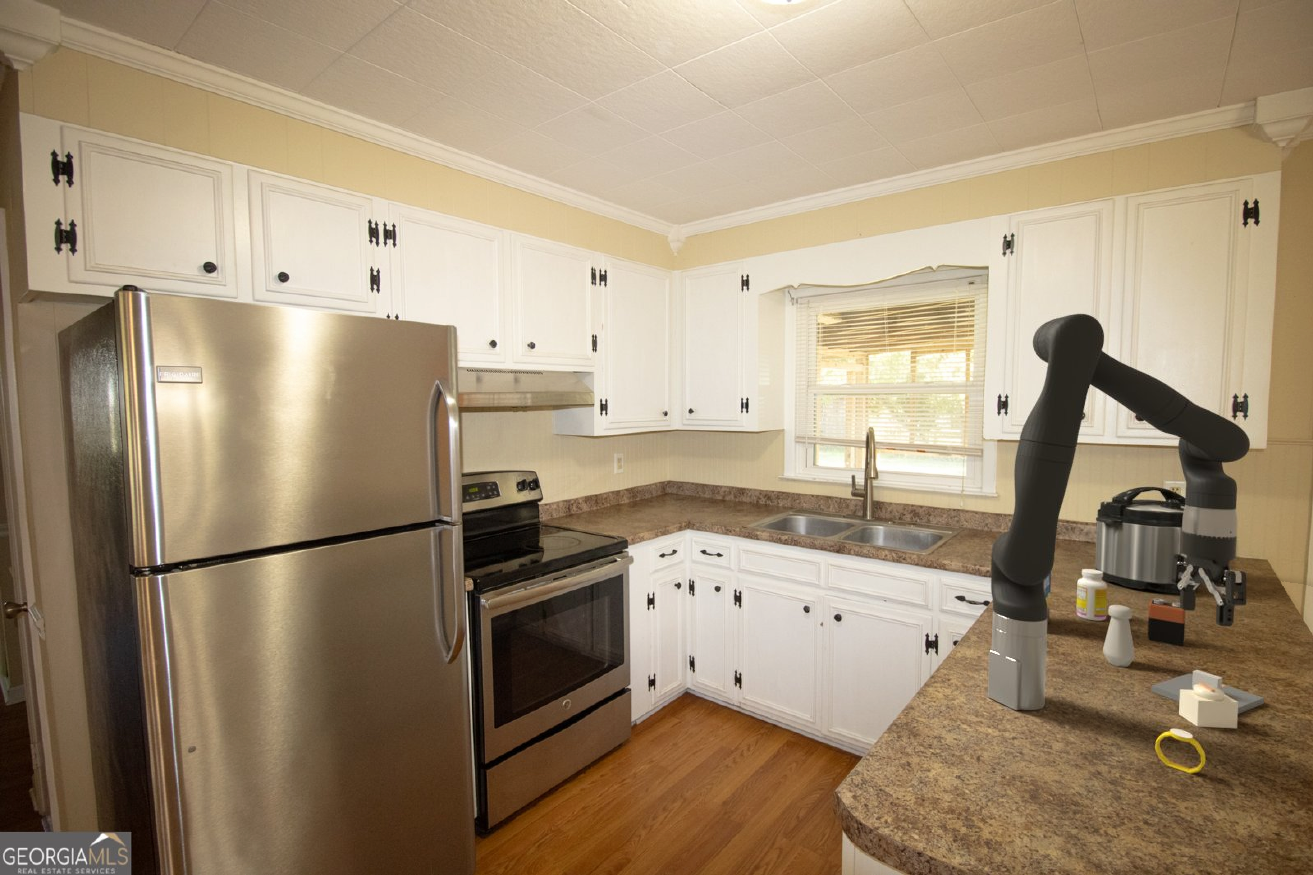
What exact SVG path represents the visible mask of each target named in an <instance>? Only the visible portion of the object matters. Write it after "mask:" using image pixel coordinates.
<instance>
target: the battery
mask: <svg viewBox="0 0 1313 875" xmlns="http://www.w3.org/2000/svg"><path fill="white" fill-rule="evenodd" d="M1185 628H1186V610H1183V609H1181V608H1180V602H1176V601H1173V602H1172V603H1171V602H1165V599H1162V598H1155V597H1154V598H1153V600H1150V601H1149V603H1148V621H1147V639H1148V640H1149V641H1153V642H1154V641H1155V642H1158V643H1164V644H1168V645H1175V646H1180V647H1183V646H1184V644H1185Z"/></svg>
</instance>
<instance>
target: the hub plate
mask: <svg viewBox="0 0 1313 875" xmlns="http://www.w3.org/2000/svg"><path fill="white" fill-rule="evenodd" d="M1199 682H1202V683H1204V684H1206V685H1209V686H1213V687H1216V688H1219V689H1221V690H1222V691H1224V694H1225V695H1226V696H1228V697H1230V698H1232V699H1233V700H1235V701H1237V702H1238V715H1240V714H1241V713H1244V712H1247V711H1249V710H1252V709H1254V708H1257V707H1259V706H1262V705H1264V702H1265V697H1263V696H1260V695H1258V694H1254V693H1252V692H1251V693H1250V692H1247V691H1245V690H1241V689H1238V688H1235V687H1233V686H1229V685H1226V684H1223V677H1221V676H1218V675H1215V674H1212V673H1208V672H1205V671H1204V670H1203V671H1202V670H1200V669H1196V670H1192V673H1190V672H1188V673H1186V674H1183V675H1180V676H1177V677H1173V678H1171V679H1167V680H1165V681H1161V682H1159V683H1156V684H1153V685H1151V686H1150V687H1151V688H1150V689H1151V690H1150V691H1151V693H1155V694H1158V695H1159V696H1162V697H1164V698H1169V699H1170V700H1173V701H1176V702H1178V703H1179V702H1180V689H1184V690H1193V687H1194V685H1195V684H1199Z"/></svg>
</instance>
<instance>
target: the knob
mask: <svg viewBox="0 0 1313 875" xmlns="http://www.w3.org/2000/svg"><path fill="white" fill-rule="evenodd" d="M1178 703H1179V706H1178V707H1179V708H1178V714H1179V715H1180V716H1181V717H1182V718H1184V719H1185V720H1187V721H1188V722H1190V723H1192V724H1193V725H1194V726H1196V727H1199V728H1200V727H1201V728H1221V729H1222V728H1223V729H1224V728H1226V729H1238V716H1239V714H1238V702H1237V701H1235V700H1233V699H1232V698H1230V697H1228V696H1226V695H1225V694H1224V691H1222V690H1221V689H1219V688H1216V687H1213V686H1209V685H1206V684H1204V683H1202V682H1199V684H1195V685H1194V687H1193V690H1184V689H1180V702H1178Z"/></svg>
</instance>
